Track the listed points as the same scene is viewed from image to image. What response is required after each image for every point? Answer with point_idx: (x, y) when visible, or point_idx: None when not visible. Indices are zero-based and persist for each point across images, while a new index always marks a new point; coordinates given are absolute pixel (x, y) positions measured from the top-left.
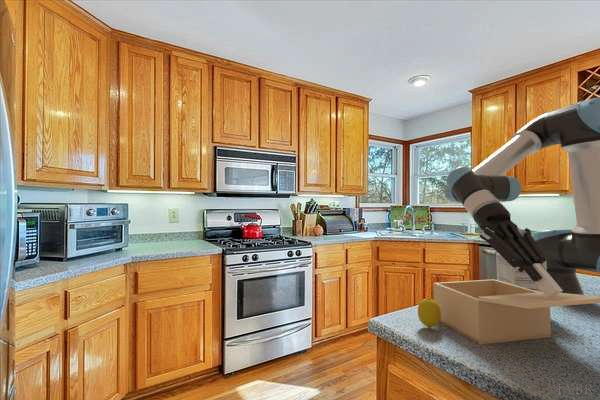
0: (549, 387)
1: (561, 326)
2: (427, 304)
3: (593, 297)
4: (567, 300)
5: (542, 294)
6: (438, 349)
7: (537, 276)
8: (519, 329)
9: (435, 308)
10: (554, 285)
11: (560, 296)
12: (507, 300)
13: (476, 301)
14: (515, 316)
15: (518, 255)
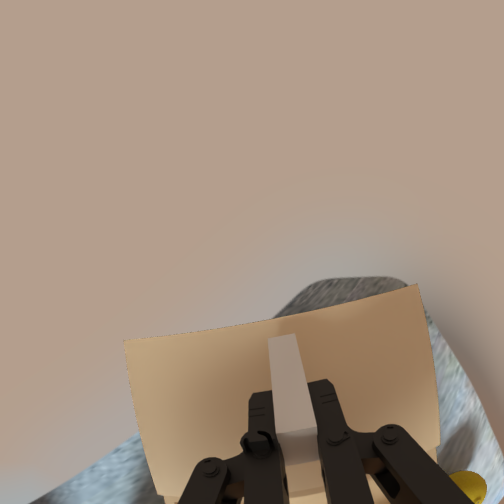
0: (365, 292)
1: (135, 494)
2: (482, 482)
3: (155, 357)
4: (272, 326)
5: None
6: (469, 394)
7: (327, 384)
8: None
9: (466, 481)
10: (287, 348)
11: (216, 408)
12: (423, 359)
13: (433, 448)
14: None
15: (391, 458)
